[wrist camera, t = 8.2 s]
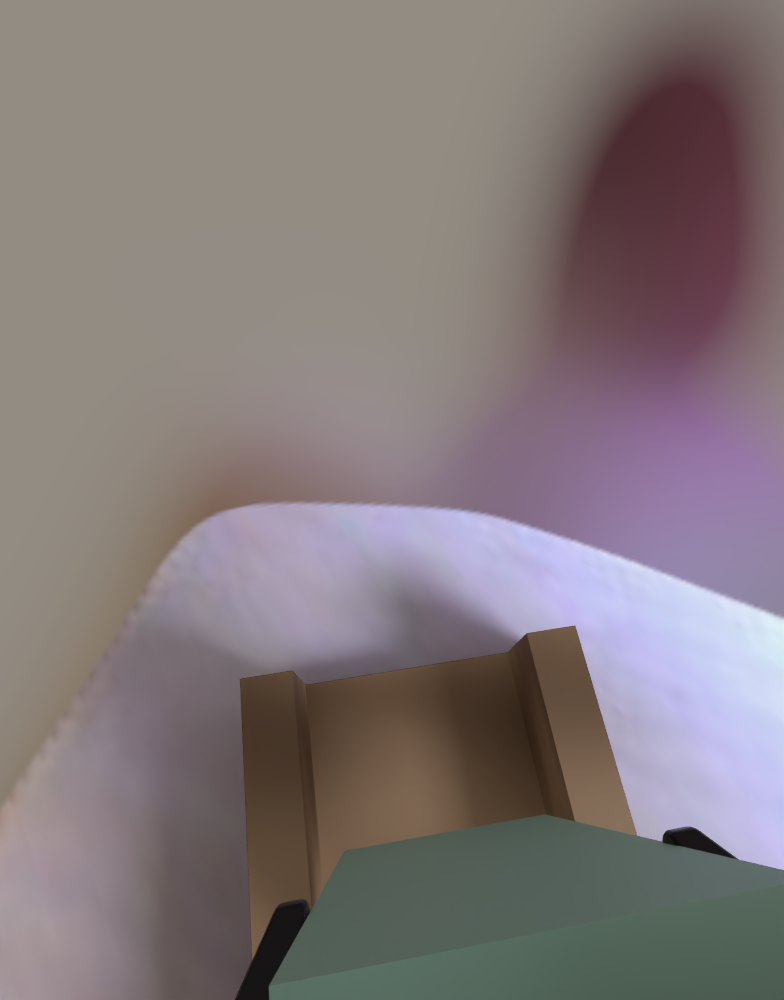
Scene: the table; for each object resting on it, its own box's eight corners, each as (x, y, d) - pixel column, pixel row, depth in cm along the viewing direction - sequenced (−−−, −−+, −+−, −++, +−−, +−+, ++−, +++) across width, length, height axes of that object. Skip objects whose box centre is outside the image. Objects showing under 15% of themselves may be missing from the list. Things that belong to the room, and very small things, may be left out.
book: (580, 963, 13) (1020, 1385, 4) (358, 1008, 13) (289, 1587, 4) (545, 814, 14) (815, 878, 5) (342, 851, 14) (262, 988, 5)
